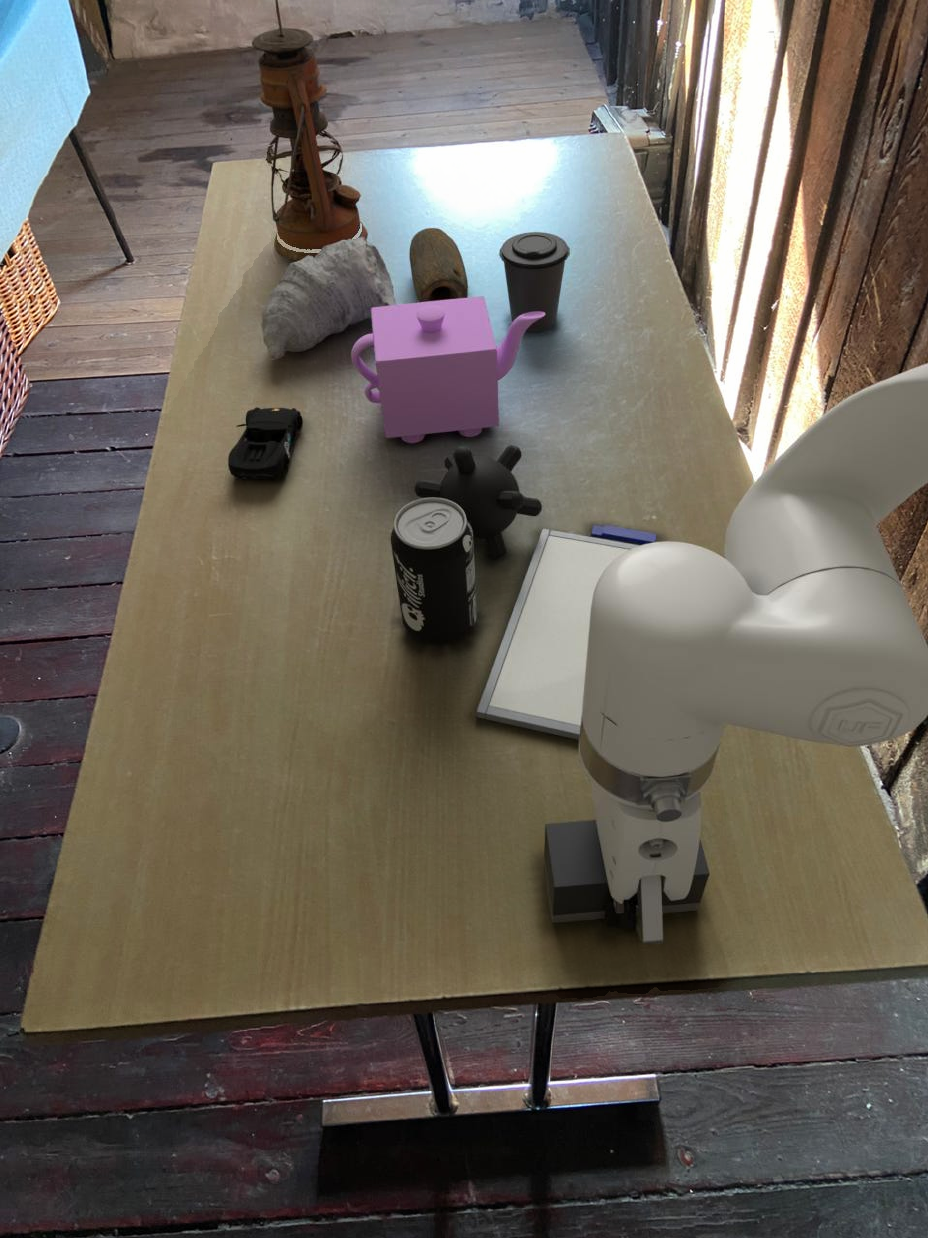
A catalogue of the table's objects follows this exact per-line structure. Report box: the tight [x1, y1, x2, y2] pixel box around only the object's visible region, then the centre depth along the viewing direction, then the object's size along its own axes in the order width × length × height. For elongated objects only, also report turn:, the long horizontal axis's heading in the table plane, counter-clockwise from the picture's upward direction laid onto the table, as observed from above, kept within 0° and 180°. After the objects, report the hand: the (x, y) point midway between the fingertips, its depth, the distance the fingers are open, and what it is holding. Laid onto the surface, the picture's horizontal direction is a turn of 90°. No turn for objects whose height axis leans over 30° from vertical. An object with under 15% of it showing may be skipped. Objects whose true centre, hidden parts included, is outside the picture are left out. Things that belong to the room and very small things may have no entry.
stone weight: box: [408, 227, 469, 303], centre depth 116 cm, size 15×7×7 cm, turn 11°
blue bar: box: [590, 524, 645, 545], centre depth 88 cm, size 5×1×1 cm, turn 73°
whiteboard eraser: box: [543, 819, 710, 924], centre depth 63 cm, size 10×5×6 cm, turn 94°
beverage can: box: [390, 498, 478, 646], centre depth 78 cm, size 7×7×12 cm
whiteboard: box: [476, 528, 642, 741], centre depth 80 cm, size 16×22×1 cm
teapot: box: [350, 296, 545, 444], centre depth 97 cm, size 20×10×12 cm, turn 96°
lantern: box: [251, 0, 369, 262], centre depth 119 cm, size 17×13×30 cm
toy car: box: [227, 407, 304, 481], centre depth 98 cm, size 8×12×4 cm
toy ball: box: [414, 444, 543, 560], centre depth 86 cm, size 11×11×12 cm
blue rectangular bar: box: [602, 524, 658, 544], centre depth 88 cm, size 5×1×1 cm, turn 73°
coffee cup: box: [498, 231, 571, 334], centre depth 110 cm, size 8×8×10 cm
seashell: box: [261, 237, 397, 361], centre depth 110 cm, size 16×15×10 cm
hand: (620, 883), depth 65 cm, fingers closed on whiteboard eraser, 4 cm apart
